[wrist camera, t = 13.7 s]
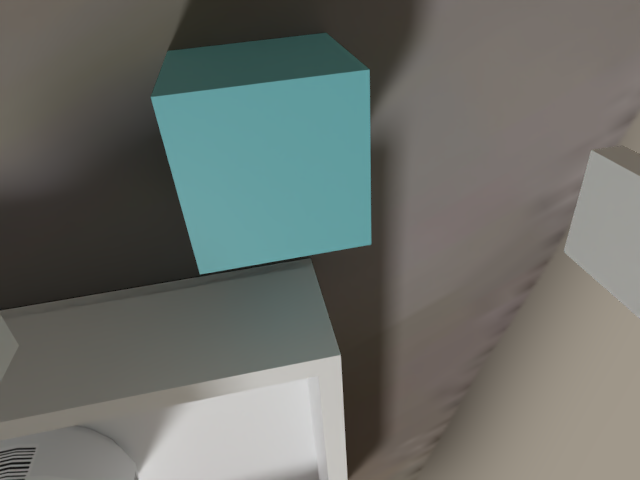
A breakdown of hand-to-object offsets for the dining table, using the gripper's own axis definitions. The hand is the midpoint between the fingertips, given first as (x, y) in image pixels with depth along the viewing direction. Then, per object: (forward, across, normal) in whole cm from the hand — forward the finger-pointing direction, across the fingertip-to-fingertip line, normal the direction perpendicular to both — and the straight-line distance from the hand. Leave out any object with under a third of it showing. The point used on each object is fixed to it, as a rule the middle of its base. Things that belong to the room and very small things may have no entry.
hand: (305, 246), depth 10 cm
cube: (+8, 0, 0) cm, 8 cm away
